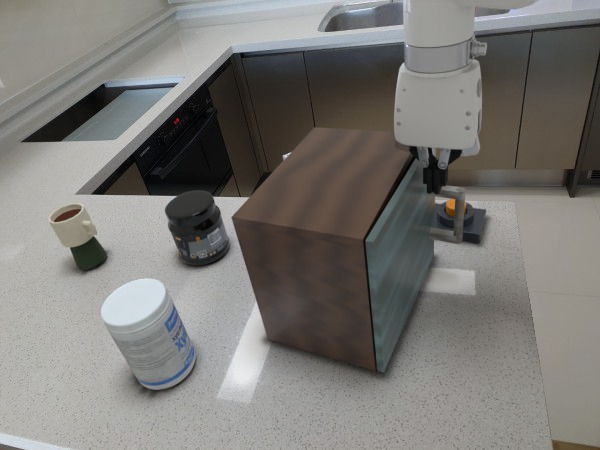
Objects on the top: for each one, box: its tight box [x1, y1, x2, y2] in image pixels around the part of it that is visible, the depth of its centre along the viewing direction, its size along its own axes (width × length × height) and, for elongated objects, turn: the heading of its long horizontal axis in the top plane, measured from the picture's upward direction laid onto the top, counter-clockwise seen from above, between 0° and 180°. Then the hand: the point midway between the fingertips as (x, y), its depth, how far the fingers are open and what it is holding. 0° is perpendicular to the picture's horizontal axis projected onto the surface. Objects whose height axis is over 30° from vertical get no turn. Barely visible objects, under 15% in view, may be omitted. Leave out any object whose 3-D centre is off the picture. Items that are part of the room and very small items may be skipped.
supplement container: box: [164, 189, 230, 266], centre depth 92 cm, size 10×10×12 cm
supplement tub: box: [100, 277, 197, 391], centre depth 68 cm, size 10×10×15 cm
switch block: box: [434, 200, 487, 244], centre depth 88 cm, size 10×8×4 cm
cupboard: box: [230, 126, 416, 372], centre depth 72 cm, size 18×26×24 cm
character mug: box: [47, 202, 108, 271], centre depth 95 cm, size 11×7×13 cm, turn 70°
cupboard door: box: [365, 148, 466, 374], centre depth 66 cm, size 6×26×24 cm, turn 152°
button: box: [445, 198, 467, 216], centre depth 86 cm, size 4×4×2 cm
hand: (435, 188), depth 63 cm, fingers closed
